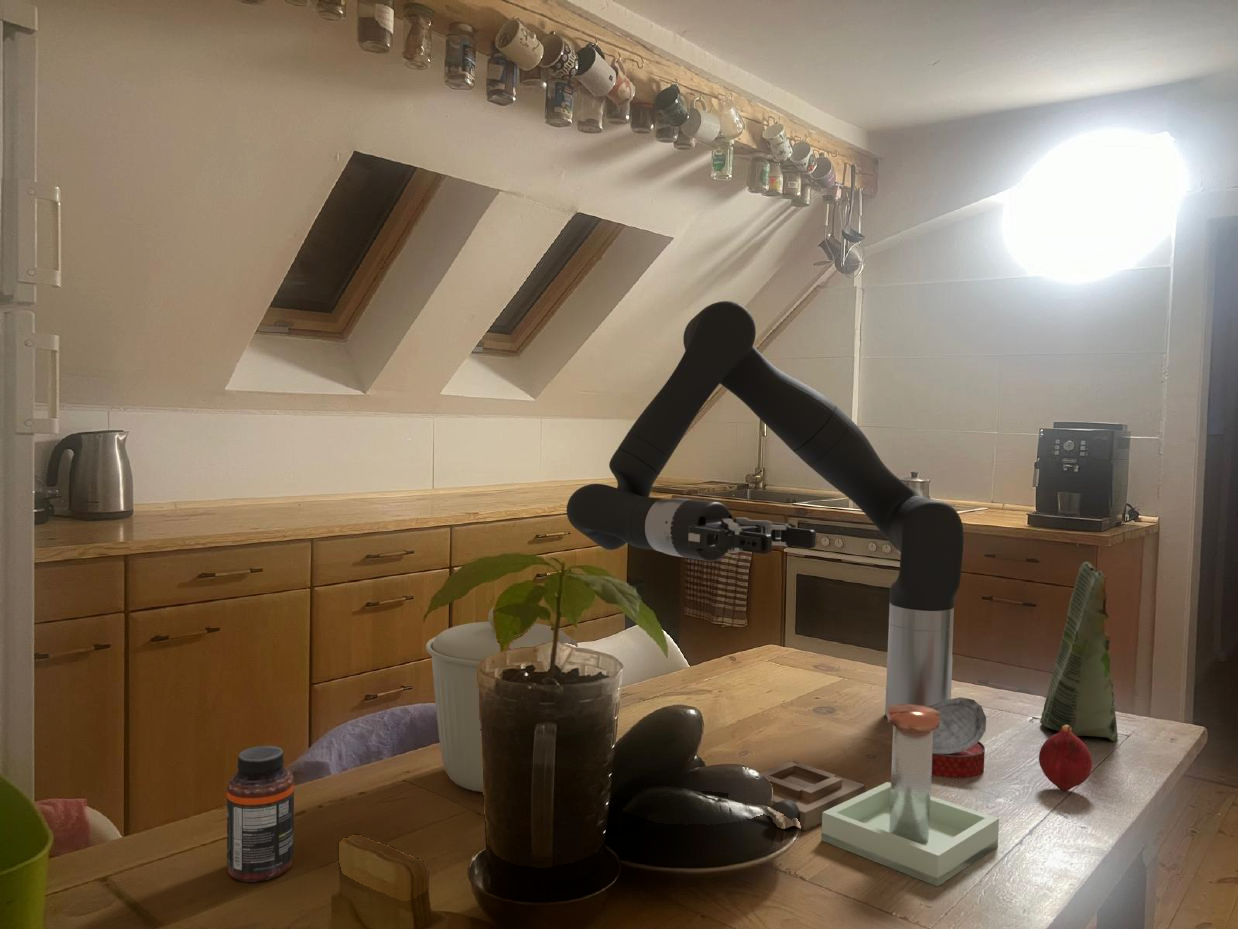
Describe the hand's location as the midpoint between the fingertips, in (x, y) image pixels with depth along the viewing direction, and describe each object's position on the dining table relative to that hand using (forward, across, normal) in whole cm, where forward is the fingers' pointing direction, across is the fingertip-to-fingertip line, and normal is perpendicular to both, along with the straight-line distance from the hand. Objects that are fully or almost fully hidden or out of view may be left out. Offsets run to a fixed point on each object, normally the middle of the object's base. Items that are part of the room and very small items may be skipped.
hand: (792, 542), depth 108 cm
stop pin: (+16, 0, +29) cm, 33 cm away
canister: (-26, -22, +30) cm, 45 cm away
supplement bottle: (-22, -53, +30) cm, 65 cm away
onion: (+21, +28, +30) cm, 46 cm away
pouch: (+14, +53, +30) cm, 63 cm away
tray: (+16, 0, +30) cm, 34 cm away
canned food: (+7, +25, +30) cm, 40 cm away
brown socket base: (+2, 0, +30) cm, 30 cm away
